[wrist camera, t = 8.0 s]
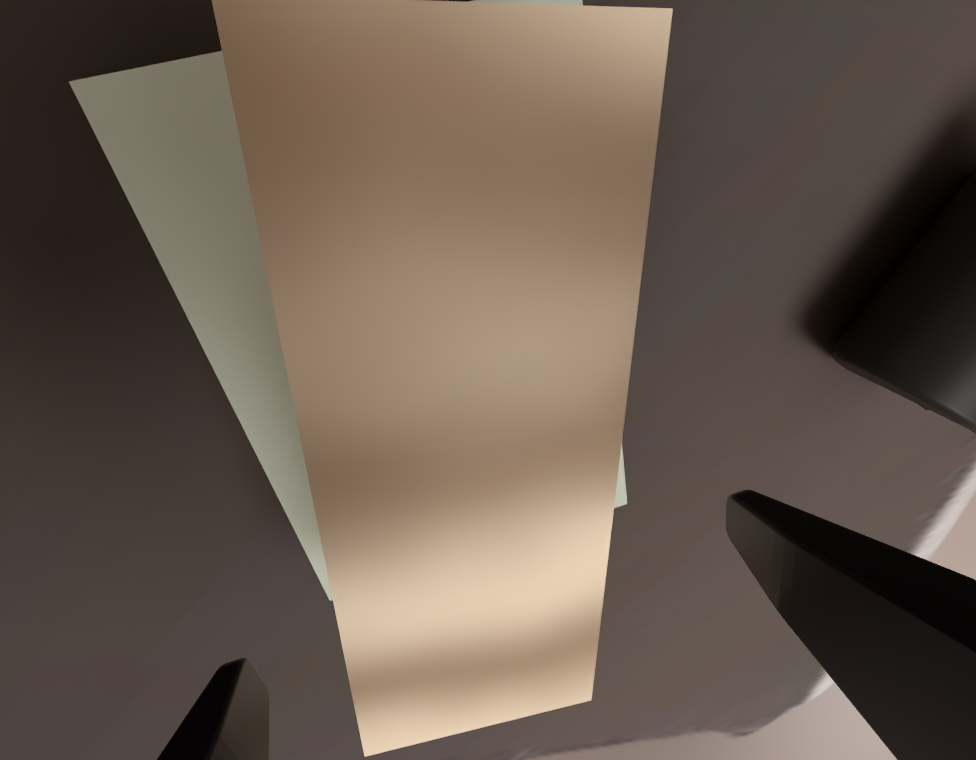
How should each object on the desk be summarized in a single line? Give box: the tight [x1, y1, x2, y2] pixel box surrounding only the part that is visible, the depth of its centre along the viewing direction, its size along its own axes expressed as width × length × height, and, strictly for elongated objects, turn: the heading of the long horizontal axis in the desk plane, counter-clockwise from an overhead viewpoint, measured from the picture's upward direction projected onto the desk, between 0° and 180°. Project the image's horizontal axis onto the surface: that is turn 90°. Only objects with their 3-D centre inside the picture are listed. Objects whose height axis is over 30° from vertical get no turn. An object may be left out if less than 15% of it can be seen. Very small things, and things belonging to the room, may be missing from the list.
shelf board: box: [212, 0, 673, 757], centre depth 13 cm, size 18×7×3 cm, turn 1°
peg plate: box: [69, 0, 627, 601], centre depth 17 cm, size 20×14×6 cm
